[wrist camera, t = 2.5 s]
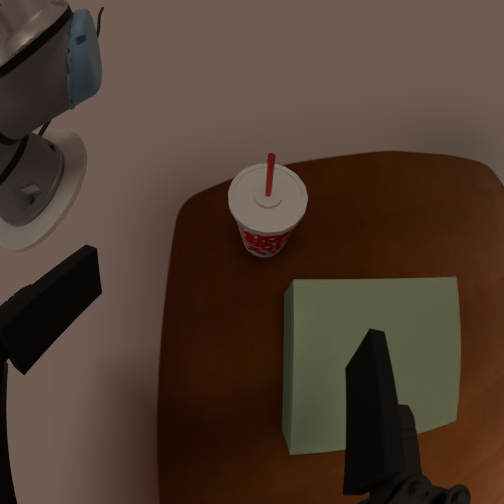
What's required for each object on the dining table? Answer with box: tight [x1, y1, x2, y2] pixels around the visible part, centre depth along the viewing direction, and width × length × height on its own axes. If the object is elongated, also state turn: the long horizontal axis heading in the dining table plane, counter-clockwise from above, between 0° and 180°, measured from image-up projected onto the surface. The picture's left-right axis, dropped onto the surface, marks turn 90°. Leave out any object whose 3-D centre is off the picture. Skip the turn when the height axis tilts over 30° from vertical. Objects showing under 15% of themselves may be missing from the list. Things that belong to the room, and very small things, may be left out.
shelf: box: [282, 277, 461, 455], centre depth 23 cm, size 14×16×7 cm
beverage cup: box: [228, 153, 308, 258], centre depth 23 cm, size 6×6×14 cm
